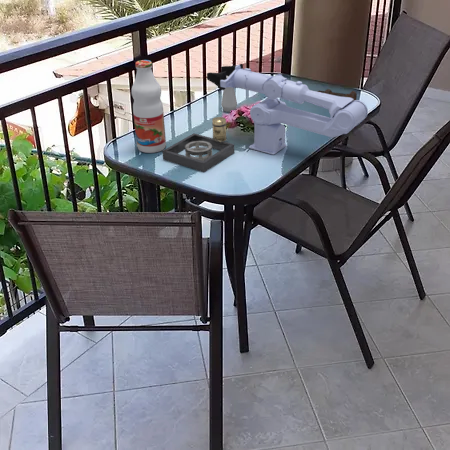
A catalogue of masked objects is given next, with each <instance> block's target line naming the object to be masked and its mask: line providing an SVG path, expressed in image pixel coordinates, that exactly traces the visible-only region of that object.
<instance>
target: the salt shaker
mask: <svg viewBox="0 0 450 450" xmlns="http://www.w3.org/2000/svg"><path fill="white" fill-rule="evenodd" d="M228 77H229V76H226V78H228ZM237 106H238V101H237V96H236V91H235V88H231V87H226V88H225V89H224V90H222V98H221V108H222V110H223V111H224V113H231V112H230V111H231V110H234V109H235V110H236V109H237Z"/></svg>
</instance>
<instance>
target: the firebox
mask: <svg viewBox="0 0 450 450" xmlns="http://www.w3.org/2000/svg"><path fill="white" fill-rule="evenodd" d="M213 150H217V152H215V153H213ZM183 151H184V152H185V155H184V154H180V153H181V152H183ZM161 152H162V159H163V161H167V162H168V163H173V164H176V165H179V166H183V167H185V168H189V169H191V170H196V171H198V172H202V173H206V172H207V171H209V170H210V169H212V168H213V167H215V166H216V165H218V164H219V163H221V162H223V161H224V160H225V159H227V158H228V157H230V156H232V155H234V154H235V143H231V142H227V141H221V140H217V139H213V137H209V136H205V135H201V134H198V133H191V134H190V135H188V136H187V137H184V138H183V139H181V140H180V141H177V142H175V143H174V144H172V145H170V146H168V147H167V148H166V149H165V148H164V149H163V150H162V151H161Z"/></svg>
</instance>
